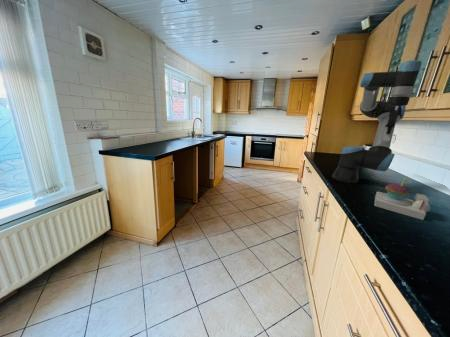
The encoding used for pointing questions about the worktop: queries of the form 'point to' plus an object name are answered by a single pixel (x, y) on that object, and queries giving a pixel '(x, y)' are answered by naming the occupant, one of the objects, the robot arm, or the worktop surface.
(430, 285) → the worktop surface
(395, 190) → the cupcake
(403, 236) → the worktop surface
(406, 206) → the scale
